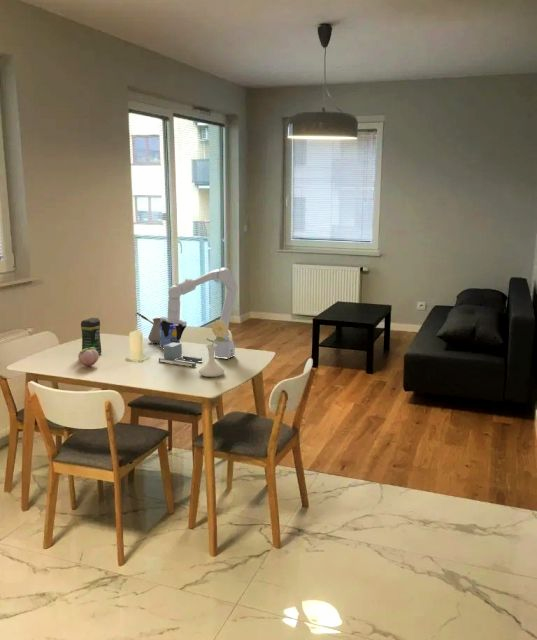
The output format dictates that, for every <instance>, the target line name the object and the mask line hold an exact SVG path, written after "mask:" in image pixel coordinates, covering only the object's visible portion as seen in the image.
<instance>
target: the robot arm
mask: <svg viewBox="0 0 537 640" xmlns="http://www.w3.org/2000/svg"><path fill="white" fill-rule="evenodd" d="M218 280H219V281H220V282H221V283H222V284H224V285H225V287H226V292H225V298H224V302H223V304H222V305H223V306H222V310H221V313H220V317H219V318H220V319H219V321H220V320H221V321H223V322H224V323H225V324H226V326H227V327H228V329H227V330H228V331H227V334H226V335H225V336H224V337H223V338H224V339H225V340H224V341H222V342H219V341H218V340H217V339H216V340H215V339H214V340H215V342H214V344H216V345H217V346H216V348H215V351H214V355H215V356H218V357H227V358H229V357H231V356H233V355H235V356H236V351H235V349H236V347H235V342H234V340H231V339H230V337H229V336H230V333H229V328H230V327H229V326H230V321H231V316H232V313H233V308H234V303H235V300H236V297H237V296H236V295H237V291H238V284H237V283H236V281H235V276H234V274H233V272H232V271H231V269H229V268H228V267H226V266H223V267H222V266H221V267H220V268H216V269H213V270H212V271H211V270H210V271H209V272H207V273H204V274H203V275H201V276H199V277H197V278H195V279H192V278H186V279H184V281H182V282H180V283H176V284H175V285H171V287H169V290H168V301H167V303H168V304H167V316H166V317H165V316H161V317H159V318H160V321H162V323H160V324H161V326H162V328H163V332H164V336H165V337H168V335H169V327H170V323H173V324H178V325H177V326H176V330H177V340H179V339H180V340H181V339H182V336H183V333H184V331H185V330H186V328H187V321H186V320H182V319H180V315H181V312H180V311H181V296H182V295H183V296H184V295H186V294H188V293H190V292H193V291H195V290H196V288H197V286H200V285H202V284H204V283H207V282H210V281H217V282H218ZM217 337H218V336H217Z"/></svg>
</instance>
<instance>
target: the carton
mask: <svg viewBox="0 0 537 640" xmlns="http://www.w3.org/2000/svg"><path fill="white" fill-rule="evenodd" d="M163 347H164V349H163V358H168V359H176V358H179V357H181V356H182V357H183V353H182V350H183V349H182V348H183V347H182V343H181V342H180V343H174V342H173V343H170V344H167V345H165V346H163ZM182 357H181V358H182ZM179 359H180V358H179ZM176 360H177V359H176Z"/></svg>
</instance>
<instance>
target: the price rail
mask: <svg viewBox="0 0 537 640" xmlns="http://www.w3.org/2000/svg"><path fill="white" fill-rule="evenodd" d="M183 359H185V360H183ZM186 360H192V361H186ZM193 361H202V362H203V357H197V356H192V355H185V354H184V355H182V360H181V359H176V360H175V359H168V358H164V357H161V356H160V357H159V358H158V363H161V362H165V363H164V364H167V363H172V364H171V365H174V364H178V365H177V366H180V365H185V366H184V367H187V366H191V367H190V368H193V367H195V366H196V367H197V362H193ZM196 367H195V368H196Z"/></svg>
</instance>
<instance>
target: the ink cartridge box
mask: <svg viewBox="0 0 537 640" xmlns="http://www.w3.org/2000/svg"><path fill="white" fill-rule="evenodd" d="M177 325H178V324H173V323H170V327H169V335H168V337H165V336H164V332H163V328H162V326H161V324H160V325H159V326H160V344H159V347H160V348H161V349H162V348H164V347H163V346H165V345H167V344H170V343H173V342H174V343H181V341H180V340H181V339H179V340H177V330H176V326H177Z"/></svg>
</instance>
